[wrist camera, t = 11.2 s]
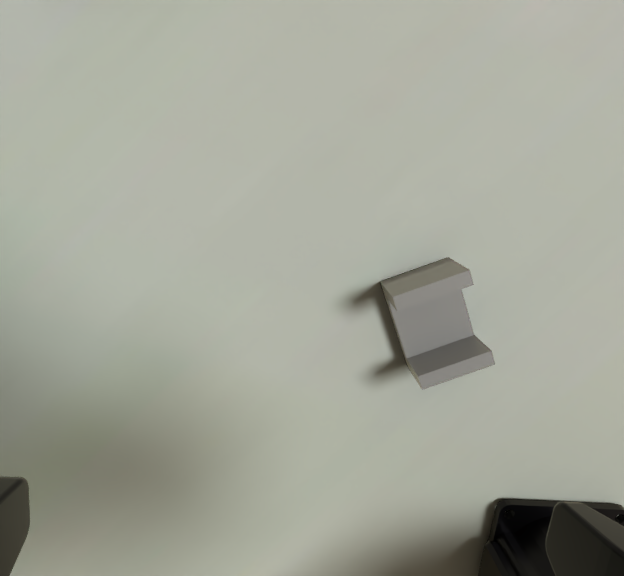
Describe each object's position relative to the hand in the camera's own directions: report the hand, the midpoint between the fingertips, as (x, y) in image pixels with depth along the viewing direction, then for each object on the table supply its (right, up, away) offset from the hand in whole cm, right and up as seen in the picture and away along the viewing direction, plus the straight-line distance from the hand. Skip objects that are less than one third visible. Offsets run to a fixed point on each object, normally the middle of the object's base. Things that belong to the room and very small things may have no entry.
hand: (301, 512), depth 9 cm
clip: (+5, +3, +13) cm, 14 cm away
